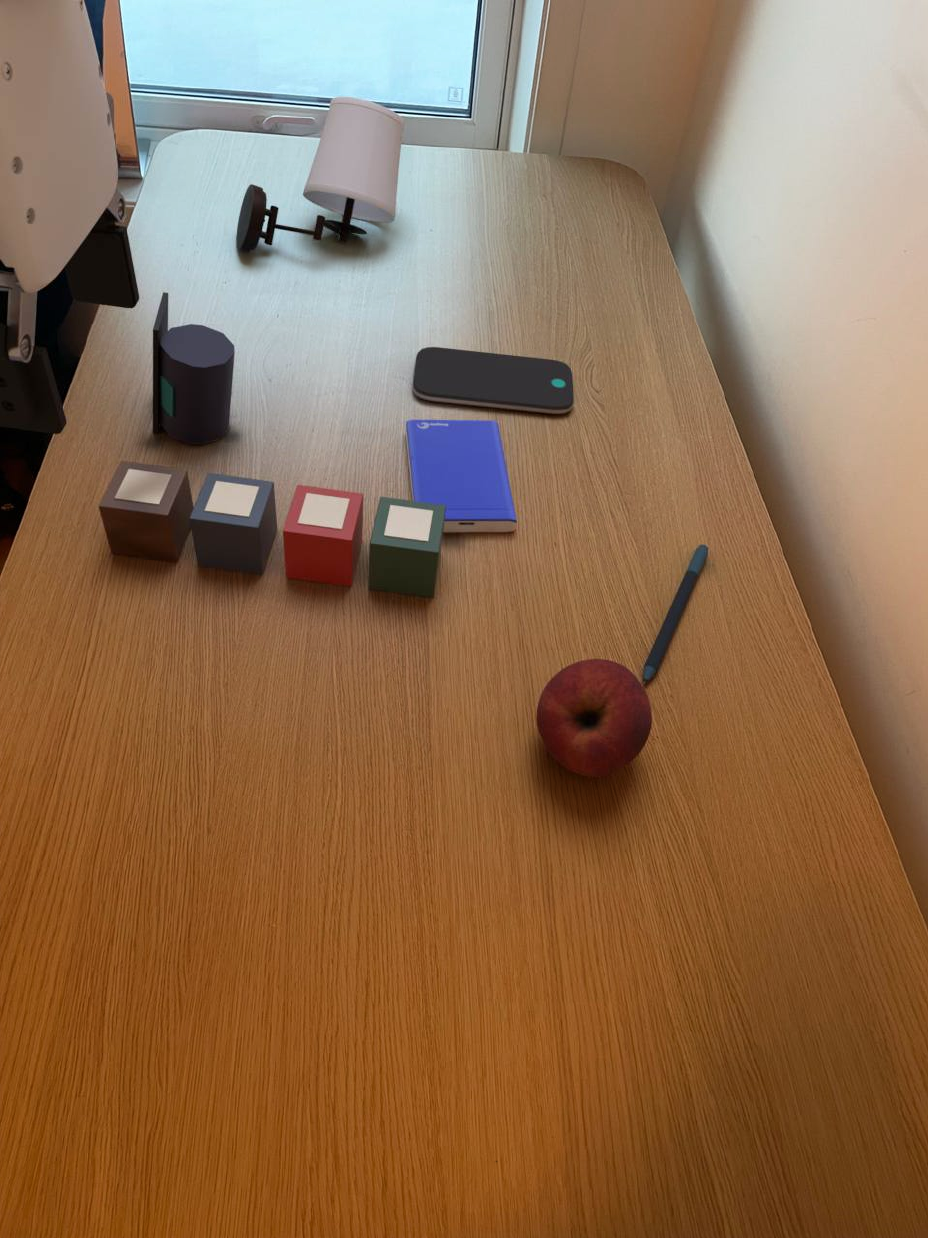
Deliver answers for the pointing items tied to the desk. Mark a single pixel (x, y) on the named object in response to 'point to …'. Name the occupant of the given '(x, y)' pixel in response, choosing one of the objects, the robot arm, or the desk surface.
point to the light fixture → (339, 175)
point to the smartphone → (493, 380)
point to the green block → (406, 547)
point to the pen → (674, 613)
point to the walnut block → (147, 511)
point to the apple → (594, 717)
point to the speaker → (191, 380)
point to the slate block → (234, 523)
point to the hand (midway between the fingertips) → (70, 359)
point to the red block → (323, 535)
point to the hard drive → (461, 473)
